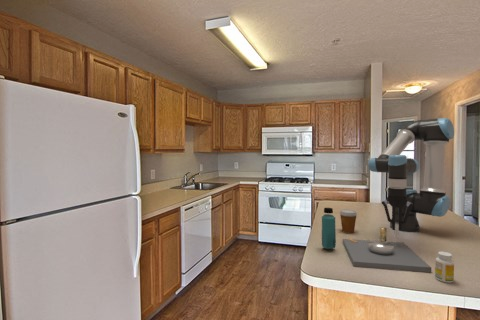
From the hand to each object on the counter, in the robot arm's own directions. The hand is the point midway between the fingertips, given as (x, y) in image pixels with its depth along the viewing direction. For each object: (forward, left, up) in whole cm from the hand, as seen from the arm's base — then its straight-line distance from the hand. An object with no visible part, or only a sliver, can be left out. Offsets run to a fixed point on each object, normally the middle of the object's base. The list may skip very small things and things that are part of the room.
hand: (396, 236), depth 124 cm
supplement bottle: (-7, +28, -6) cm, 30 cm away
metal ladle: (+8, +5, -4) cm, 10 cm away
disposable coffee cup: (+17, -25, -6) cm, 31 cm away
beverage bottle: (+31, +6, -6) cm, 33 cm away
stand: (+9, +9, -6) cm, 15 cm away
